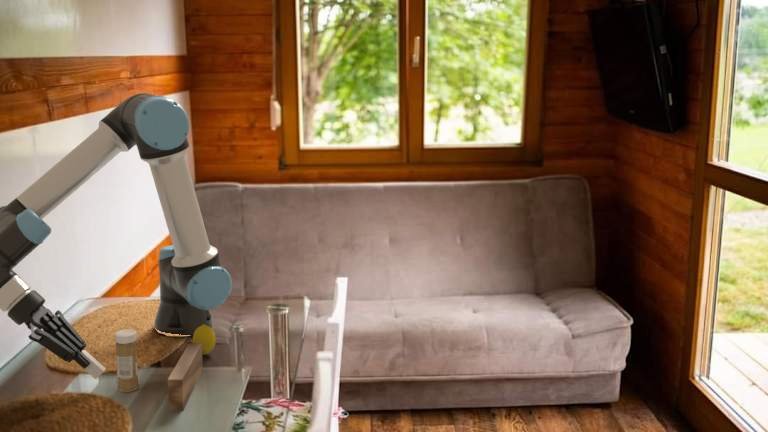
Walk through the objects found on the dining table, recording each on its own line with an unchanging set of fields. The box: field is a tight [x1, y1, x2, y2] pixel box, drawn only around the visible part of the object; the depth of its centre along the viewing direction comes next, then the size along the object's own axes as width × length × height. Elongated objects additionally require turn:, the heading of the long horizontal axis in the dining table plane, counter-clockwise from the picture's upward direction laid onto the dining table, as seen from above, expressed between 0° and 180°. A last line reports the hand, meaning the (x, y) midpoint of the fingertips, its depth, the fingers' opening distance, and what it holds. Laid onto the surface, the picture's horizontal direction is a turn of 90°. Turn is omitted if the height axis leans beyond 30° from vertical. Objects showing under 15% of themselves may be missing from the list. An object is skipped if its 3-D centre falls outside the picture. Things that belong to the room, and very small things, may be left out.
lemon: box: [192, 324, 217, 356], centre depth 193 cm, size 6×6×8 cm
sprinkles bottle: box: [114, 328, 140, 393], centre depth 173 cm, size 5×5×13 cm
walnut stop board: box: [167, 342, 203, 411], centre depth 174 cm, size 3×20×7 cm, turn 1°
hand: (100, 374), depth 173 cm, fingers closed
